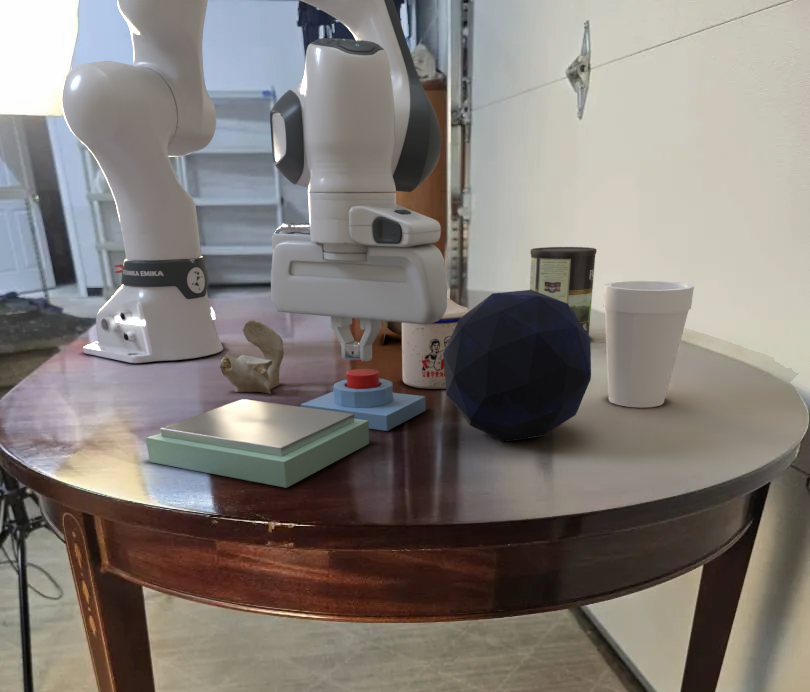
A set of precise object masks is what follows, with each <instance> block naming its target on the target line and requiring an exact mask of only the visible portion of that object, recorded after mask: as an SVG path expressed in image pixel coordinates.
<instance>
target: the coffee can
mask: <svg viewBox="0 0 810 692" xmlns="http://www.w3.org/2000/svg"><path fill="white" fill-rule="evenodd" d="M596 255H597V248H595V247H588V246H587V247H585V246H547V247H534V248H531V249H530V271H529V290H533V291H536V292H538V293H541V294H544V295H546V296H549V297H552V298H554V299H557V300H560V301H562V302H565V303H568V305H569V306H570V308H571V309H572V311H573V312H574V314H575V315H576V317H577V318H578V320H579V321H580V323H581V324H582V326H583V327H584V329H585V331H586V332H587V334H588V335H589V336H590V328H591V327H590V326H591V325H590V324H591V314H592V313H591V312H592V301H593V300H592V299H593V289H594V277H595V264H596Z"/></svg>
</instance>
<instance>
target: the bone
mask: <svg viewBox="0 0 810 692" xmlns="http://www.w3.org/2000/svg"><path fill="white" fill-rule="evenodd" d="M242 332H243V335H244V337H245V339H246V341H247V342H249V343H250V344H251V345H253V346H255V347H257V348H258V349H259V350H260V352H261V353H262V355H263V357H264V358H261V357H257V356H253V355H247V354H241V355H239V356H238V357H237V358H236V357H234V356H233V355H231V354H230V353H229V352H227V354H224V356H223V357H222V358H221V360H220V365H219V369H220V370H221V373H222V375H223V377H225V378H226V379H227V380H228V381H229V383H230V384H231V385H232V386H235V387H236V388H234V392H235V393H252V392H253V393H254V392H255V393H256V392H259V393H264V394H268V395H272V393H271V390H272V389H274V388H275V387H277V386H280V368H281V365H282V361H283V359H284V354H285V353H284V351H285V348H284V341H283V338H282V336H281V335H279V334H278V333H277V332H276V331H275V330H274V329H273V328H272V327H270V326H269V325H267V324H265V323H263V322H262V321H258V320H255V319H248V320H247V321H246V322H245V324H244V326H243V327H242Z"/></svg>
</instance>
